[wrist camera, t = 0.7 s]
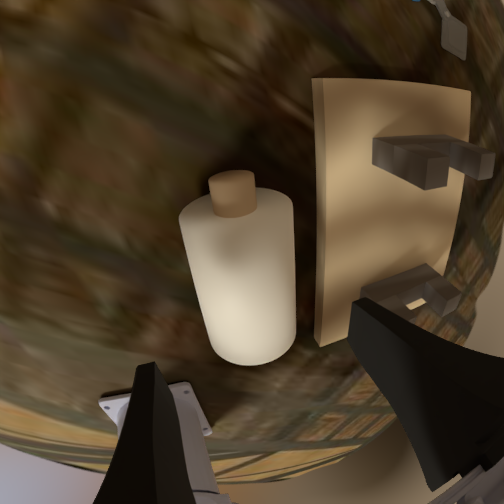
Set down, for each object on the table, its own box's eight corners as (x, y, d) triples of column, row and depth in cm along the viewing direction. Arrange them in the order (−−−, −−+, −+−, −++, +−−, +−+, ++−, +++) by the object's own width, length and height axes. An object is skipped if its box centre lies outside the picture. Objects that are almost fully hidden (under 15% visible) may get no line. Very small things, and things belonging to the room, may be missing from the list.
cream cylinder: (276, 310, 22) (310, 362, 18) (206, 331, 21) (226, 391, 17) (264, 154, 16) (313, 183, 12) (167, 174, 15) (180, 213, 11)
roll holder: (428, 290, 27) (465, 325, 23) (313, 337, 25) (346, 388, 20) (459, 88, 17) (519, 104, 12) (311, 78, 14) (378, 82, 10)
